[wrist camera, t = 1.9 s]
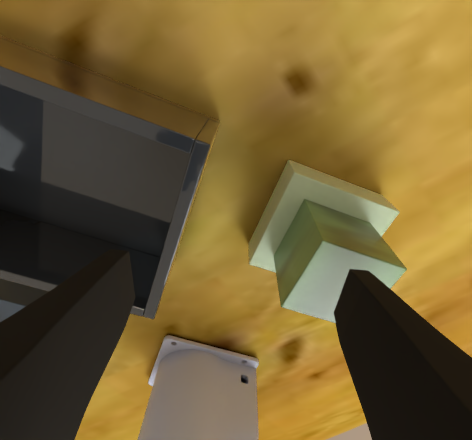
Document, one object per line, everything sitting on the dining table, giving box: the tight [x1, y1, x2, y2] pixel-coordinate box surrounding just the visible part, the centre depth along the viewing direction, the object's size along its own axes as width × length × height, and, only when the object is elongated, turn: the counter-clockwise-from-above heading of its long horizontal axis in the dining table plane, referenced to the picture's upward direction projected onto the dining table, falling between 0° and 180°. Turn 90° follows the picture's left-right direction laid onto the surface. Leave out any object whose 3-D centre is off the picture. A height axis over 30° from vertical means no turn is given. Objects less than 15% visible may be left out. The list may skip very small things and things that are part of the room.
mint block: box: [249, 160, 399, 273], centre depth 19 cm, size 7×7×2 cm
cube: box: [274, 199, 407, 323], centre depth 16 cm, size 4×4×4 cm
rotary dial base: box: [0, 279, 49, 322], centre depth 25 cm, size 10×9×3 cm
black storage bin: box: [0, 35, 220, 319], centre depth 16 cm, size 13×11×6 cm
